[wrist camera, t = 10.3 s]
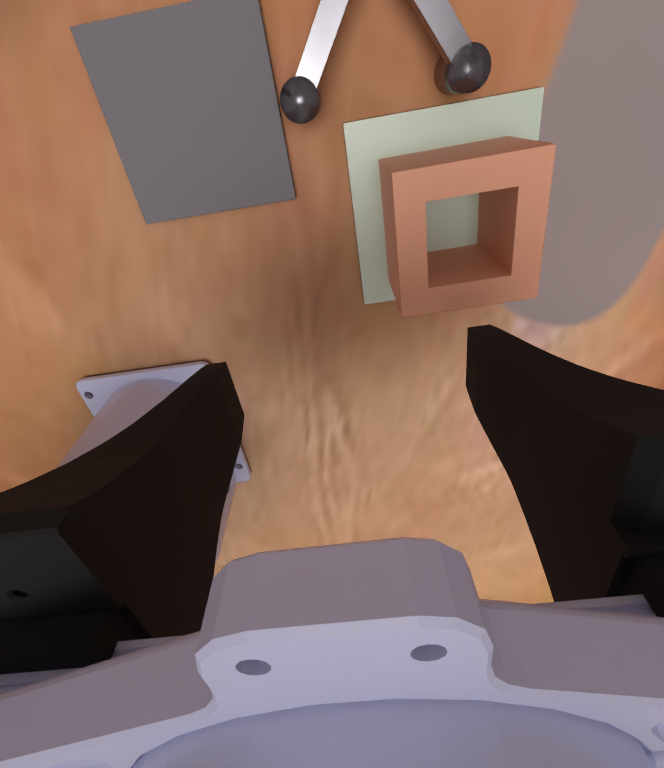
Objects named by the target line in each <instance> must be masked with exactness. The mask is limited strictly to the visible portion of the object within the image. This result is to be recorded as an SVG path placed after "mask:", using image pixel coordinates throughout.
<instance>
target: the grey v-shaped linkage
mask: <svg viewBox="0 0 664 768" xmlns="http://www.w3.org/2000/svg"><path fill="white" fill-rule="evenodd" d="M408 1H409V3H410V4H411V6H412V8H413V9H414V11H415V13H416V14H417V16H418V18H419V19H420V21H421V23H422V24H423V26H424V28H425V29H426V31H427V33H428V34H429V36H430V38H431V39H432V41H433V43H434V44H435V46H436V48H437V49H438V51H439V53H440V54H441V56H442V57H441V59H440V60H439V62H438V63H437V66H436V69H435V74H434V78H435V83H436V86H437V88H438V89H439V90H440V91H441V92H442V93H444V94H447V95H453V94H464V93H471V92H474V91H476V90H478V89H479V88H480V87H481V86H482V85H483V84H484V83H485V81H486V80H487V78H488V76H489V73H490V69H491V57H490V54H489V51H488V50H487V48H486V47H485V46H484V45H482V44H480V43H477V42H471V40H470V39H469V37H468V35H467V33H466V32H465V30H464V28H463V26H462V24H461V23H460V21H459V19H458V17H457V16H456V14H455V12H454V10H453V8H452V7H451V5H450V3H449V1H448V0H408ZM348 2H349V0H321V1H320V4H319V7H318V10H317V13H316V16H315V19H314V22H313V25H312V28H311V31H310V34H309V37H308V40H307V43H306V46H305V49H304V52H303V55H302V58H301V61H300V64H299V67H298V70H297V73H296V76H295V77H292V78H290V79H289V80H288V81H287V82H286V83H285V84H284V86H283V88H282V90H281V94H280V103H281V108H282V110H283V112H284V114H285V115H286V117H287V118H288V119H289V120H291V121H292V122H295V123H298V124H303V123H307V122H309V121H310V120H312V119H313V118H314V117H315V116H316V114H317V113H318V111H319V108H320V95H319V92H318V90H317V87H318V85H319V82H320V79H321V76H322V74H323V71H324V68H325V65H326V63H327V60H328V57H329V54H330V52H331V49H332V46H333V43H334V41H335V38H336V35H337V32H338V30H339V27H340V24H341V21H342V18H343V16H344V13H345V10H346V7H347V5H348Z"/></svg>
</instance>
